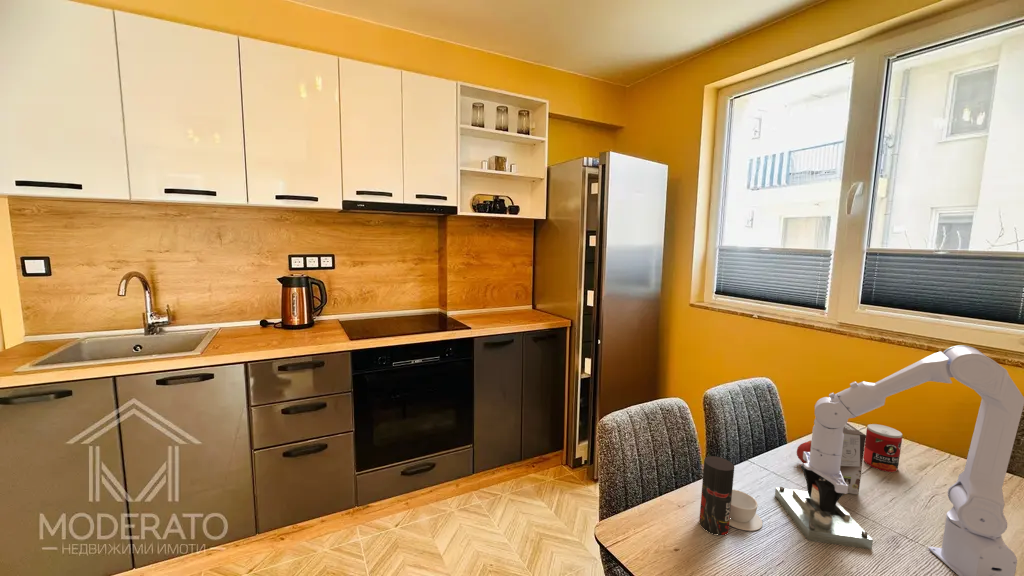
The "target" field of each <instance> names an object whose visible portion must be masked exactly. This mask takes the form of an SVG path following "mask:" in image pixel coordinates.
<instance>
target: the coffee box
mask: <svg viewBox="0 0 1024 576" xmlns="http://www.w3.org/2000/svg"><path fill="white" fill-rule="evenodd" d="M843 433H844V440H843V448H842V457H841V466H840V471H841V474H842V476H843V479H844V481H845V483H846V484H847V485H848V491H847V494H851V495H859V494H860V485H861V479H862V470H863V461H864V458H863V456H864V448H865V439H866V433H863V432H862V431H860V430H858V429H857V428H855V426H852V425H851V424H849V423H848V422H847V424H846V425H845V426H844V427H843Z"/></svg>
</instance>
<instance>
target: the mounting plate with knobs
mask: <svg viewBox="0 0 1024 576" xmlns="http://www.w3.org/2000/svg"><path fill="white" fill-rule="evenodd" d="M774 490H775V491H774V496H775V498H776V499H777V501H778V502H779V503H780V505H781V506H782V507H783V508H784V510H785V511H786V513H787V514H788V515H789V516H790V518H791V519H792V520H793V522H794V523H795V524H796V526H797V527H798V528H799V530H800V531H801V533H802V534H803V536H804V537H805V538H806V539H807V540H808V541H811V542H820V543H826V544H833V545H841V546H847V547H853V548H859V549H860V548H861V549H867V550H872V549H873V544H874V543H873V542H874V540H873V538H872V537H871V536H870V535H869V534H868V533H867V532H866V531H865V530H864V529H863V527H861V525H859V523H857V521H856V520H855V519H854V518H853V517H851V514H850V512H848V511H847V510H846V509H845V508H844V507H843V506H842V505H841V504H840V503H839V502H838V501H837V503H836V505H835V507H834V509H833V515H828V514H826V513H824V512H820V511H816V512H815V510H814V508H813V507H812V506H811V505H810V497H809V494H808V490H799V489H791V488H790V489H789V488H785V487H782V486H780V487H775V489H774Z"/></svg>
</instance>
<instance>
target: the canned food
mask: <svg viewBox="0 0 1024 576" xmlns="http://www.w3.org/2000/svg"><path fill="white" fill-rule="evenodd" d="M865 435H866V438H865V446H864V455H863V461H864V463H865V464H866V465H868V466H869V467H871V468H874V469H876V470H878V469H879V470H878V471H883V472H889V473H892V472H893V473H894V472H897V471H898V468H899V466H900V465H899V464H900V463H899V462H900V458H901V457H900V455H901V449H902V442H903V433H902V432H901V431H899V430H897V429H896V428H893V427H890V426H887V425H883V424H877V423H872V424H871V423H870V424H867V427H866V433H865Z"/></svg>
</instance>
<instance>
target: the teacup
mask: <svg viewBox="0 0 1024 576" xmlns="http://www.w3.org/2000/svg"><path fill="white" fill-rule="evenodd" d="M758 505H759V504H758V502H757V500H756V498H755V497H753V496H752V495H750V494H748V493H746V492H744V491H741V490H737V489H732V499H731V511H730V518H731V519H730V522H729V527H733V528H736V529H738V530H743V531H751V532H752V531H758V530H760V529H762V527H763V520H762V518H761V517H760V516H759V515H758V513H757V508H758Z"/></svg>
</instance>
